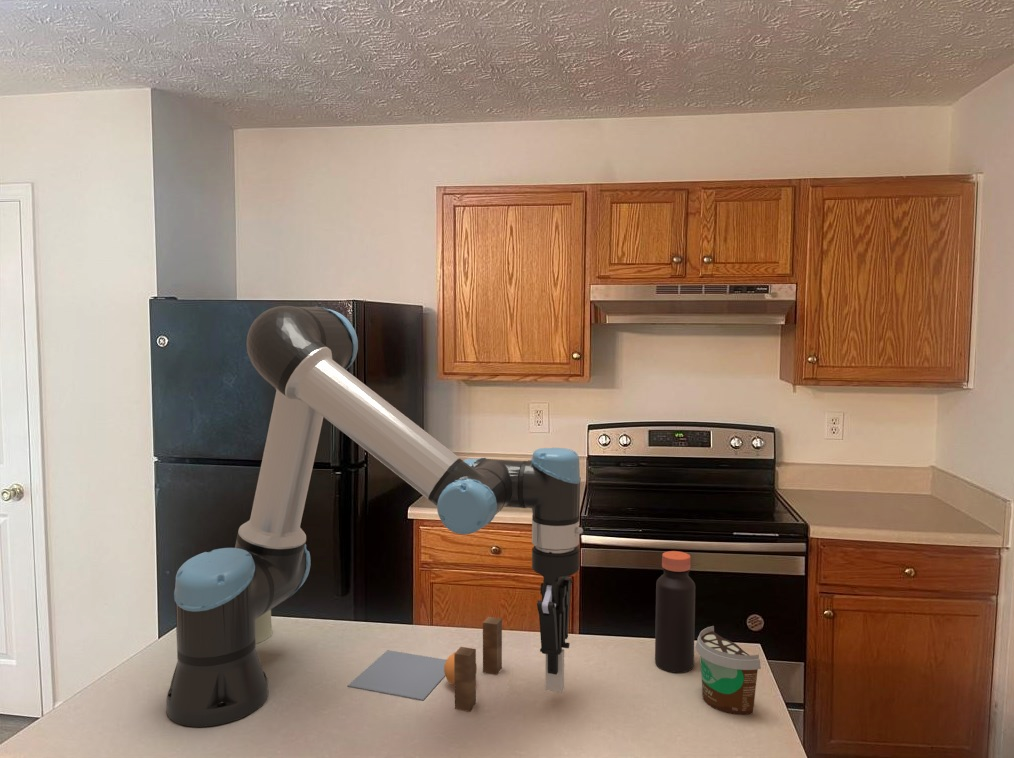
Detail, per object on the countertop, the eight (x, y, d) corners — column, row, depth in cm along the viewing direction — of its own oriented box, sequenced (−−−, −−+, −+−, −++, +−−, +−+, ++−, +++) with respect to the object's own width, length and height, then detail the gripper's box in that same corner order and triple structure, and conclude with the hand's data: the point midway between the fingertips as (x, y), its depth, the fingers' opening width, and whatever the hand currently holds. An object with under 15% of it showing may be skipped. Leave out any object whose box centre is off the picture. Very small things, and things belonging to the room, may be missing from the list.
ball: (445, 695, 119) (434, 664, 119) (458, 680, 124) (447, 650, 125) (474, 688, 117) (462, 656, 118) (486, 673, 122) (474, 642, 123)
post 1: (454, 708, 113) (454, 653, 113) (460, 700, 116) (460, 646, 115) (469, 711, 113) (469, 656, 112) (475, 703, 115) (475, 649, 114)
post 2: (482, 672, 125) (482, 622, 125) (488, 665, 128) (488, 616, 127) (496, 674, 124) (496, 624, 124) (501, 668, 127) (501, 618, 126)
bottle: (698, 673, 125) (700, 561, 124) (659, 673, 125) (661, 561, 124) (688, 655, 132) (690, 549, 130) (651, 655, 132) (653, 549, 130)
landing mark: (347, 686, 120) (347, 685, 120) (387, 651, 134) (387, 650, 134) (423, 700, 116) (423, 699, 116) (457, 662, 129) (457, 661, 129)
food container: (679, 688, 120) (680, 630, 119) (710, 681, 122) (711, 624, 122) (726, 726, 109) (728, 662, 108) (759, 718, 111) (761, 655, 110)
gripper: (568, 561, 107) (567, 713, 108) (587, 537, 119) (586, 674, 121) (520, 555, 109) (520, 705, 111) (544, 532, 121) (543, 667, 123)
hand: (554, 689), depth 116 cm, fingers closed
